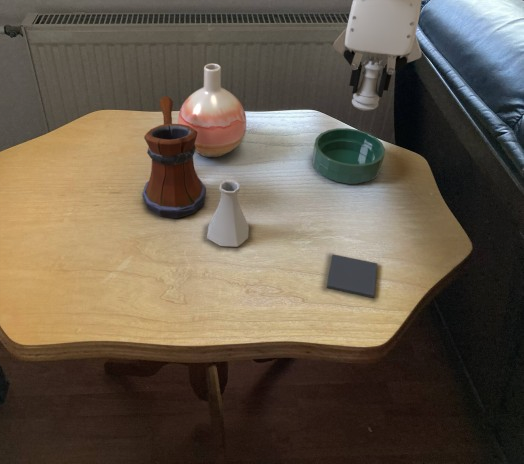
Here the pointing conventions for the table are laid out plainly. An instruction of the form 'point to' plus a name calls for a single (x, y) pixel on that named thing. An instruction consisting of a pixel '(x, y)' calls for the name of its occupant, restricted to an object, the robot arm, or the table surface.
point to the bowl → (348, 155)
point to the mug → (172, 168)
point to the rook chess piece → (368, 85)
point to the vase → (214, 116)
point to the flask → (228, 218)
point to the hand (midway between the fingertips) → (367, 90)
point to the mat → (352, 276)
